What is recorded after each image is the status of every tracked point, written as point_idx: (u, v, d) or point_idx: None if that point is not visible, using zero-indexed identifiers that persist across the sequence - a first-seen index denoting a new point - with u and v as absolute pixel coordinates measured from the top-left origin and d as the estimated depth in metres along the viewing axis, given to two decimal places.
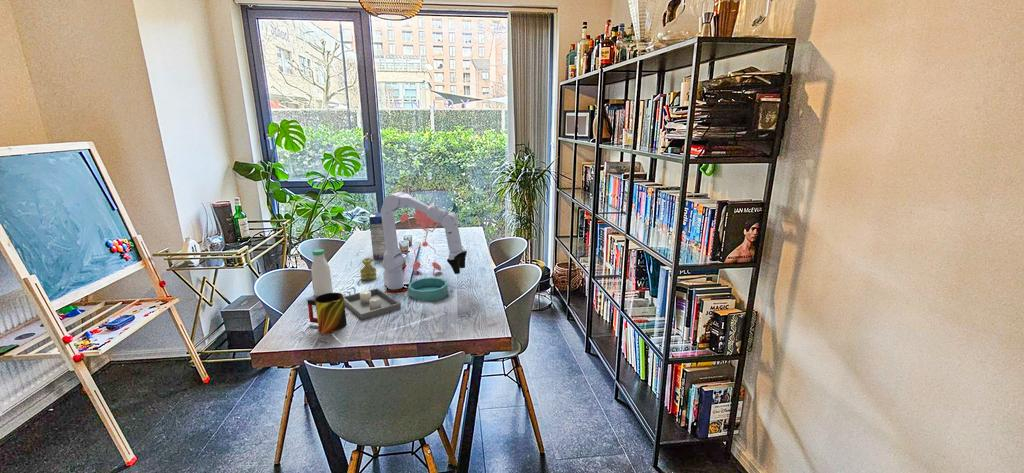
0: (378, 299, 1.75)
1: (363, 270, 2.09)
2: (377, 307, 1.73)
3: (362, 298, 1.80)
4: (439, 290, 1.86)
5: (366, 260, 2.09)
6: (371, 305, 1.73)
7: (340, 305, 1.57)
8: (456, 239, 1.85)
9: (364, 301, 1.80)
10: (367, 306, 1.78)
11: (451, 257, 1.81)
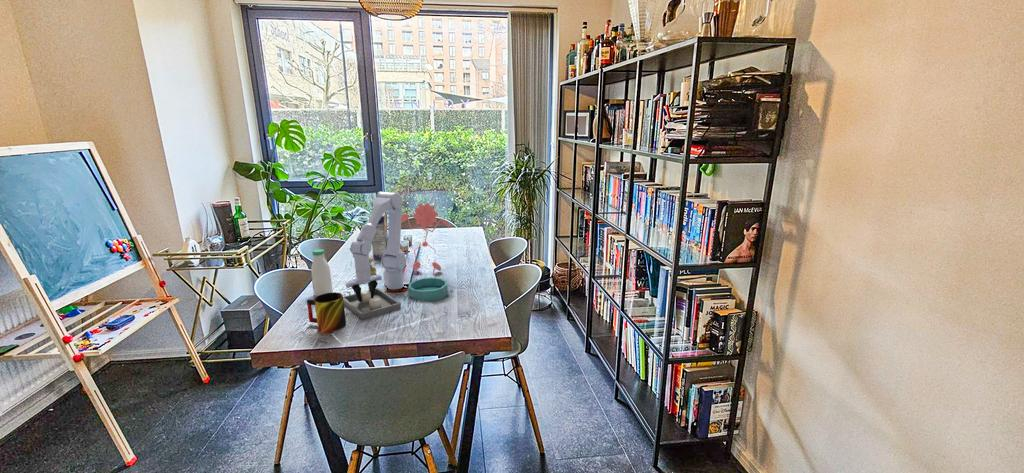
0: (378, 299, 1.75)
1: None
2: (377, 307, 1.73)
3: (362, 298, 1.80)
4: (439, 290, 1.86)
5: None
6: (371, 305, 1.73)
7: (339, 305, 1.57)
8: (355, 267, 1.78)
9: (364, 301, 1.80)
10: (367, 306, 1.78)
11: (346, 285, 1.76)
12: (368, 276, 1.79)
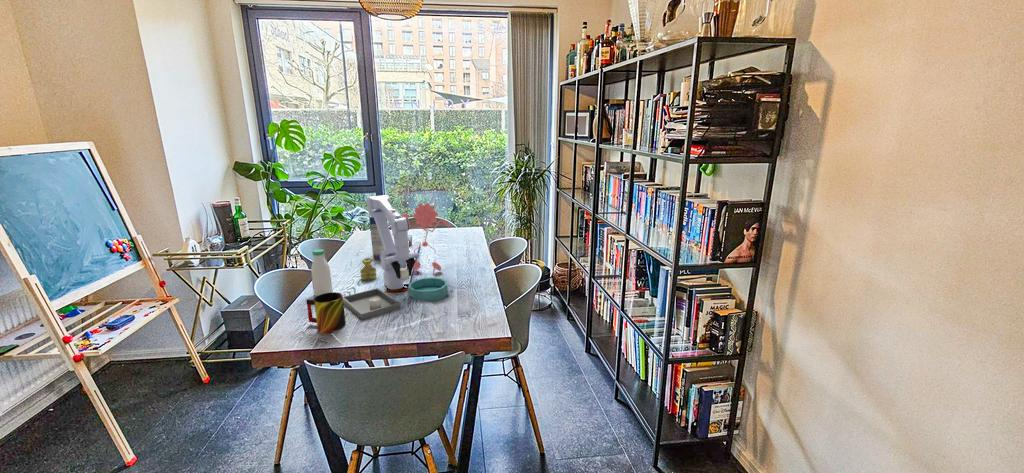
0: (378, 299, 1.75)
1: (363, 270, 2.09)
2: (377, 307, 1.73)
3: (401, 275, 1.86)
4: (439, 290, 1.86)
5: (366, 260, 2.09)
6: (371, 305, 1.73)
7: (339, 305, 1.57)
8: (398, 245, 1.82)
9: (402, 277, 1.86)
10: (367, 306, 1.78)
11: (386, 261, 1.82)
12: (407, 253, 1.84)
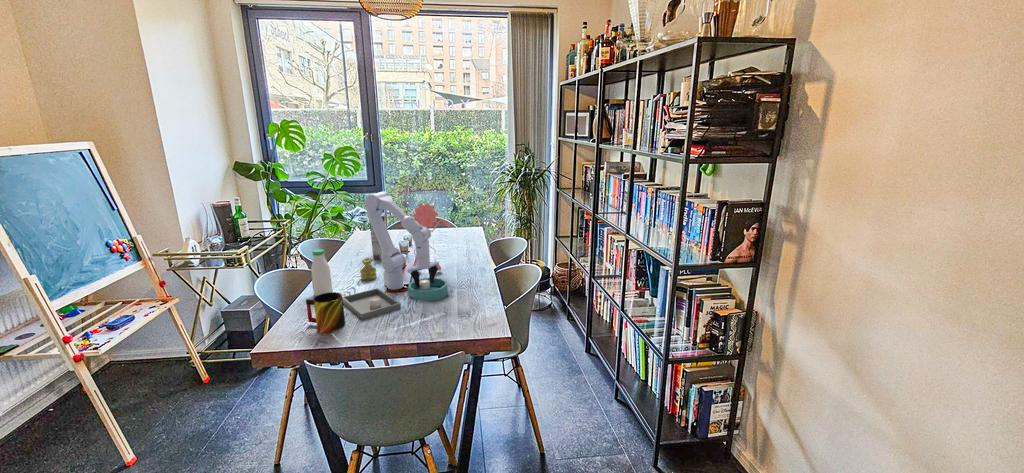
0: (378, 299, 1.75)
1: (363, 270, 2.09)
2: (377, 307, 1.73)
3: (423, 286, 1.92)
4: (439, 290, 1.86)
5: (366, 260, 2.09)
6: (371, 305, 1.73)
7: (339, 305, 1.57)
8: (424, 255, 1.88)
9: (424, 289, 1.92)
10: (367, 306, 1.78)
11: (408, 270, 1.87)
12: (428, 262, 1.90)
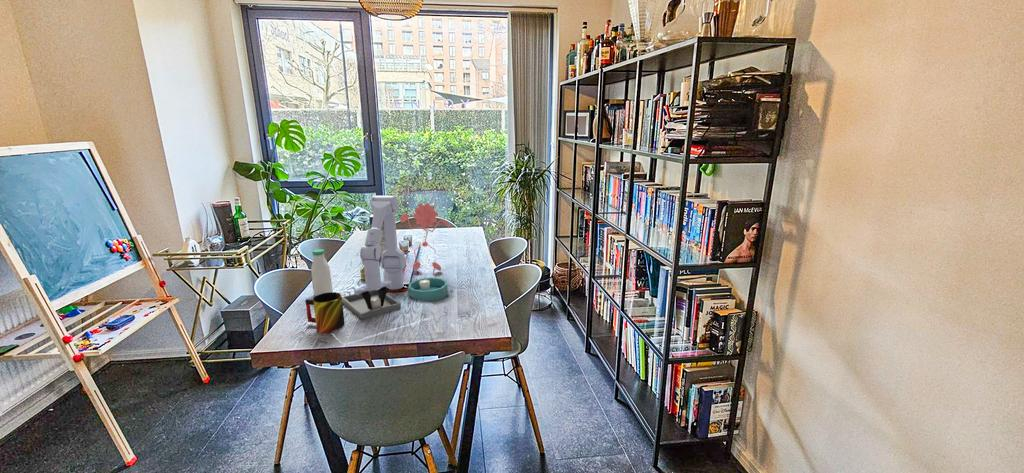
0: (378, 299, 1.75)
1: (363, 270, 2.09)
2: (377, 307, 1.73)
3: (423, 286, 1.92)
4: (439, 290, 1.86)
5: None
6: (371, 305, 1.73)
7: (338, 305, 1.57)
8: (365, 274, 1.70)
9: (424, 289, 1.92)
10: None
11: (355, 292, 1.68)
12: (378, 283, 1.71)
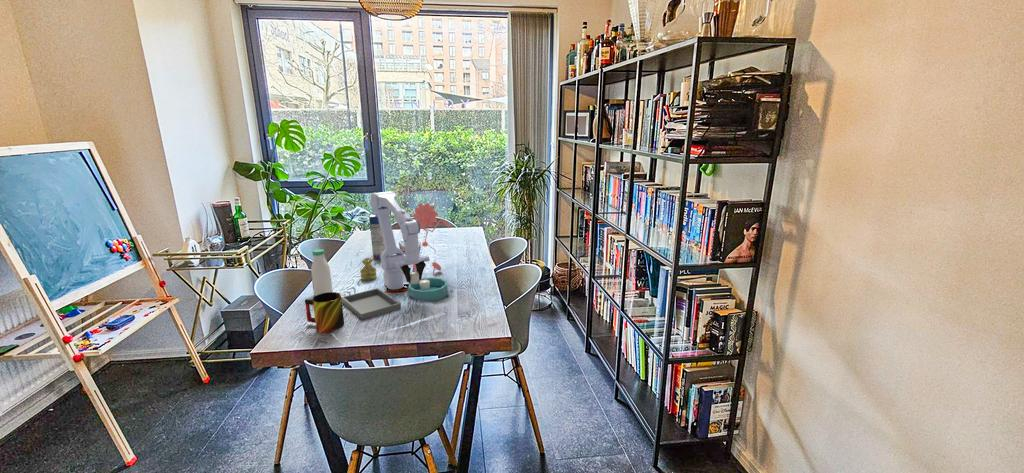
0: (416, 273, 1.83)
1: (363, 270, 2.09)
2: (416, 280, 1.81)
3: (423, 286, 1.92)
4: (439, 290, 1.86)
5: (366, 260, 2.09)
6: (410, 278, 1.81)
7: (338, 305, 1.58)
8: (409, 249, 1.77)
9: (424, 289, 1.92)
10: (367, 306, 1.78)
11: (396, 265, 1.77)
12: (417, 257, 1.79)
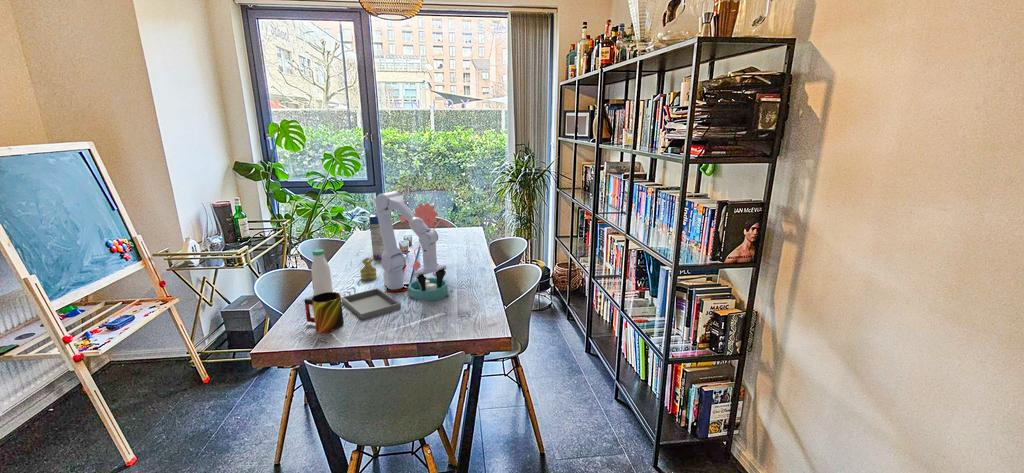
0: (434, 284, 1.89)
1: (363, 270, 2.09)
2: None
3: None
4: (439, 290, 1.86)
5: (366, 260, 2.09)
6: None
7: (337, 304, 1.58)
8: (430, 258, 1.83)
9: None
10: (367, 306, 1.78)
11: (415, 274, 1.83)
12: (435, 265, 1.85)
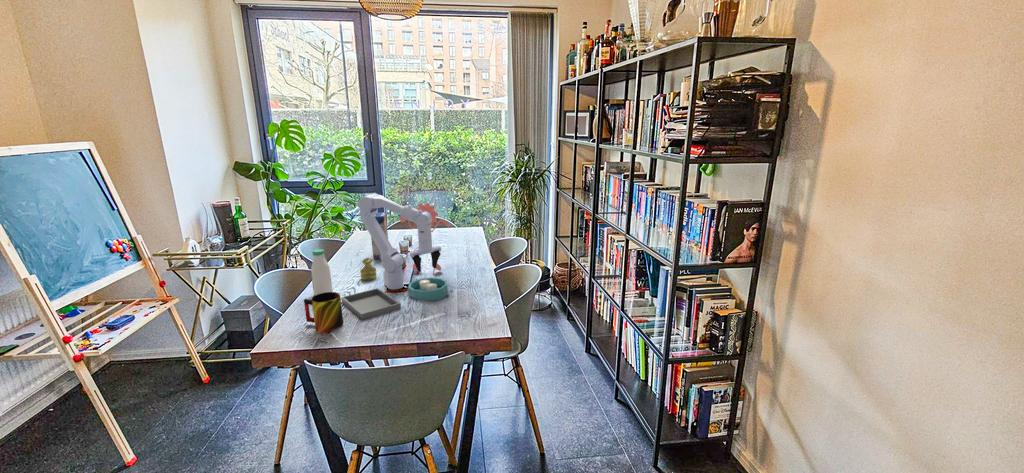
0: (434, 284, 1.89)
1: (363, 270, 2.09)
2: None
3: (423, 286, 1.92)
4: (439, 290, 1.86)
5: (366, 260, 2.09)
6: None
7: (337, 304, 1.58)
8: (427, 239, 1.88)
9: (424, 289, 1.92)
10: (367, 306, 1.78)
11: (411, 254, 1.87)
12: (430, 246, 1.90)
